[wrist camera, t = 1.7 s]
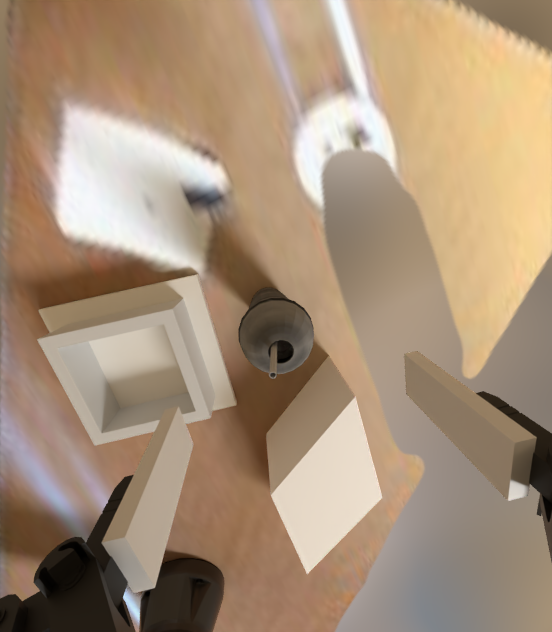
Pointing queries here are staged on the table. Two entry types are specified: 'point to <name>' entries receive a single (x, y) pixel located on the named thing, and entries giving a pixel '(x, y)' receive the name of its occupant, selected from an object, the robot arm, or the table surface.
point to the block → (321, 465)
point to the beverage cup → (275, 333)
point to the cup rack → (138, 357)
